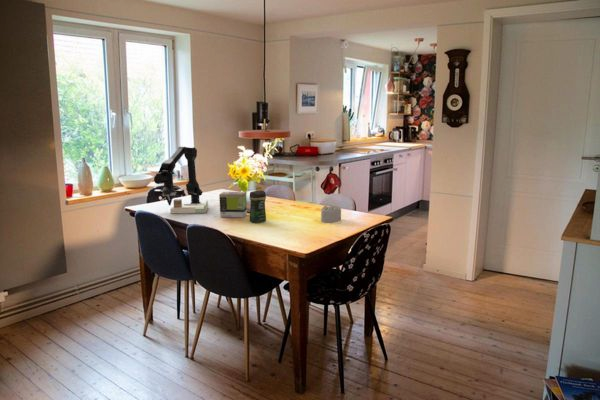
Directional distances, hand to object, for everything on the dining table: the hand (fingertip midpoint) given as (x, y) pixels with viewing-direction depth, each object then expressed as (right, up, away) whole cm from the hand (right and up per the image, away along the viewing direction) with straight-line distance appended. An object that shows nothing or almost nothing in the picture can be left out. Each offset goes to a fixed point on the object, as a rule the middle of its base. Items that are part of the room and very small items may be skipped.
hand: (169, 205), depth 306 cm
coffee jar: (+60, -9, -25) cm, 65 cm away
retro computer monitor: (+43, -7, -11) cm, 45 cm away
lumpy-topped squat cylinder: (+103, -9, -23) cm, 106 cm away
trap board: (+13, -4, +2) cm, 13 cm away
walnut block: (+5, -1, +1) cm, 5 cm away
